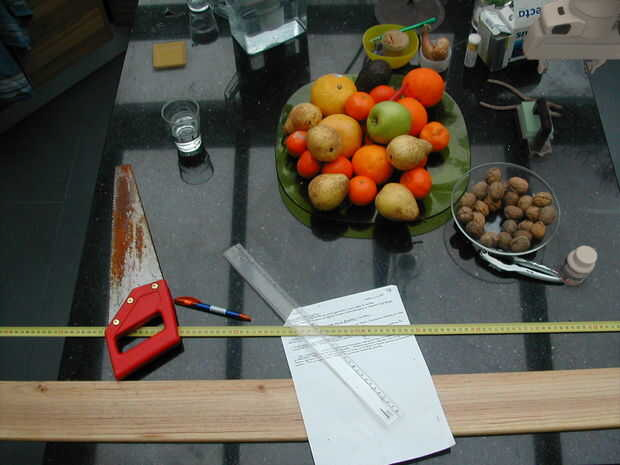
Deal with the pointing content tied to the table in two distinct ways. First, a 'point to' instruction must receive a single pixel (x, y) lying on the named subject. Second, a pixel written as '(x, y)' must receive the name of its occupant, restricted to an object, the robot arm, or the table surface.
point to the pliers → (527, 99)
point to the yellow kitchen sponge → (169, 54)
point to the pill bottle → (577, 265)
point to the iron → (534, 129)
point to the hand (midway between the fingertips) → (564, 71)
